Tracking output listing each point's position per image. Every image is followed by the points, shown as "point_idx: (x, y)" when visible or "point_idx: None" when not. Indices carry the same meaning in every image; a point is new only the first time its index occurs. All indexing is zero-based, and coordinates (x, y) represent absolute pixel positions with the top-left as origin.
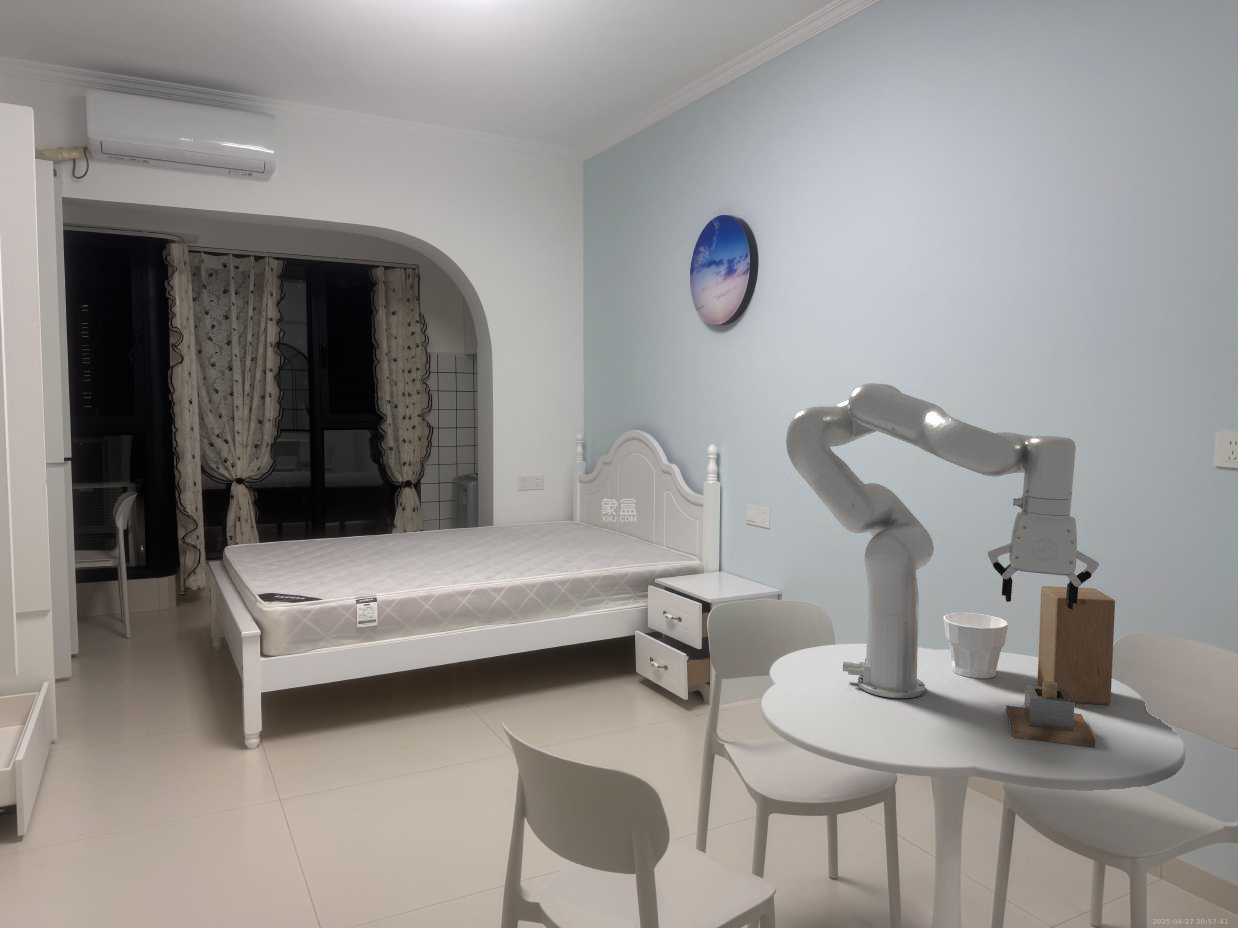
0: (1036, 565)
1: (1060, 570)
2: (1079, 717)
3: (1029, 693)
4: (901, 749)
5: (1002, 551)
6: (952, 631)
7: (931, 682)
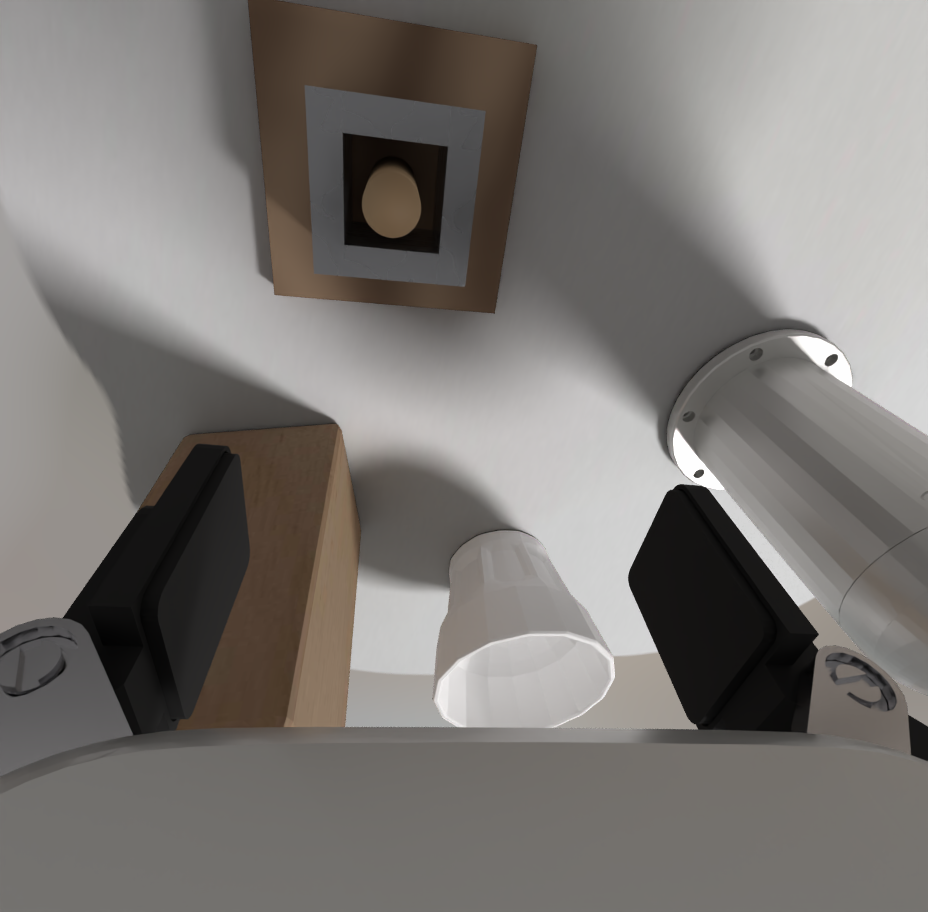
0: (703, 880)
1: (211, 821)
2: (283, 256)
3: (474, 175)
4: None
5: None
6: (595, 629)
7: (626, 476)
